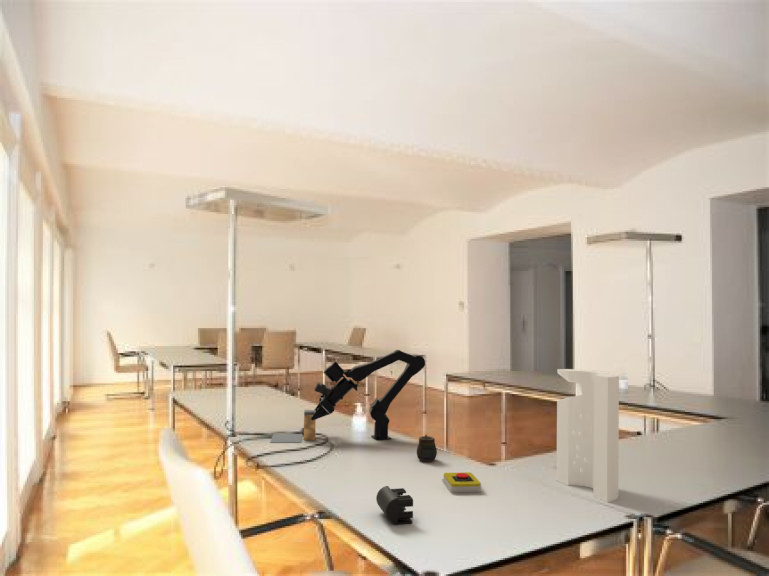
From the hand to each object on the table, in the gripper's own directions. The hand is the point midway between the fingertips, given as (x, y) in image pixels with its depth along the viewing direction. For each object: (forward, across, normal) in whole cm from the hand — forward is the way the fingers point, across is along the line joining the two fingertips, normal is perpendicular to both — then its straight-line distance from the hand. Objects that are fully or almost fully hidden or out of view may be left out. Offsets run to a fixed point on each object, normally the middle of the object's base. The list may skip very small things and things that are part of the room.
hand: (312, 417), depth 226 cm
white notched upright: (-55, +67, +66) cm, 109 cm away
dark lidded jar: (-23, +34, +35) cm, 54 cm away
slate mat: (+13, 0, -1) cm, 13 cm away
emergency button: (-27, +63, +39) cm, 79 cm away
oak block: (+6, 0, +6) cm, 9 cm away
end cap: (-10, +87, +22) cm, 90 cm away
